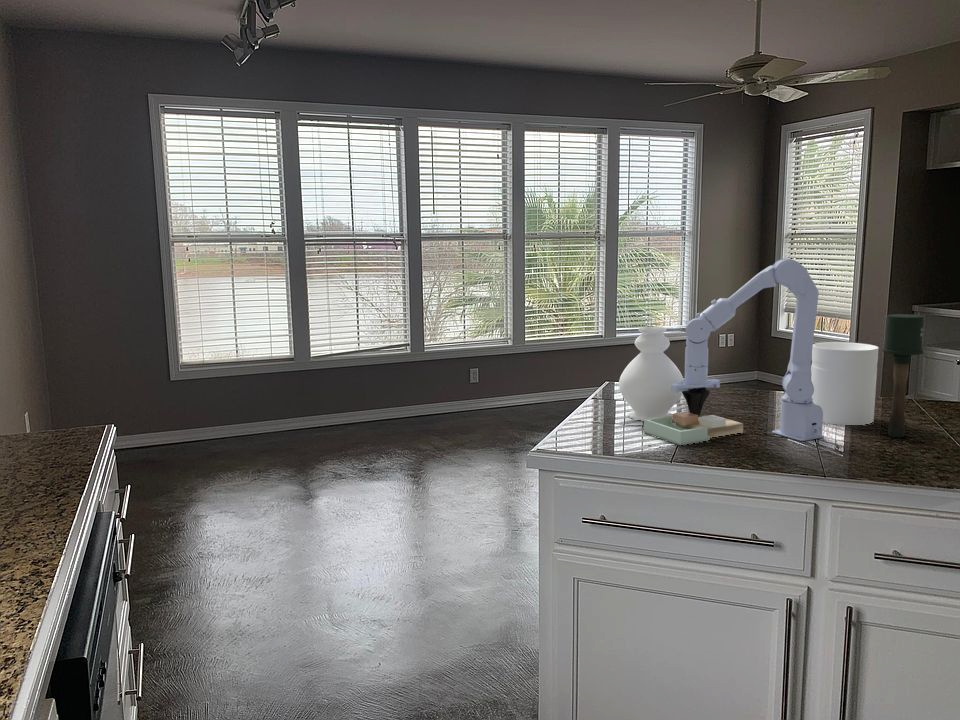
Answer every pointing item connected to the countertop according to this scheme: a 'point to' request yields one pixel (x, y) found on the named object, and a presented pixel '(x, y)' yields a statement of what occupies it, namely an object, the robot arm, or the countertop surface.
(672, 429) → the tray
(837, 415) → the canister
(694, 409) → the robot arm
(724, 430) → the board
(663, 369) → the decorative vase
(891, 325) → the stick grenade
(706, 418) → the cream tile
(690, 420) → the terracotta tile
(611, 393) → the countertop surface
